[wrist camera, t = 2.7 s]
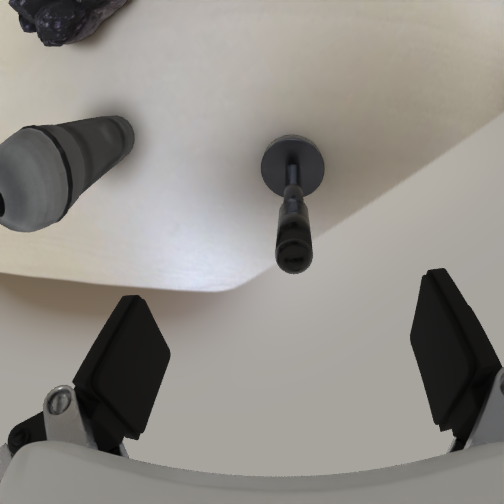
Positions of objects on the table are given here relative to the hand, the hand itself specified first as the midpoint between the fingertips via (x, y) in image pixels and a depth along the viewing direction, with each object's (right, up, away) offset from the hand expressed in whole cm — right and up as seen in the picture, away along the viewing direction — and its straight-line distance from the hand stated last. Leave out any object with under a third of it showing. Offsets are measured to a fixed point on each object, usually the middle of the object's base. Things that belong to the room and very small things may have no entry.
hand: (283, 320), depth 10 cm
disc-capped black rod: (+3, +10, +16) cm, 19 cm away
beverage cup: (-14, +13, +16) cm, 25 cm away
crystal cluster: (-17, +28, +8) cm, 34 cm away
